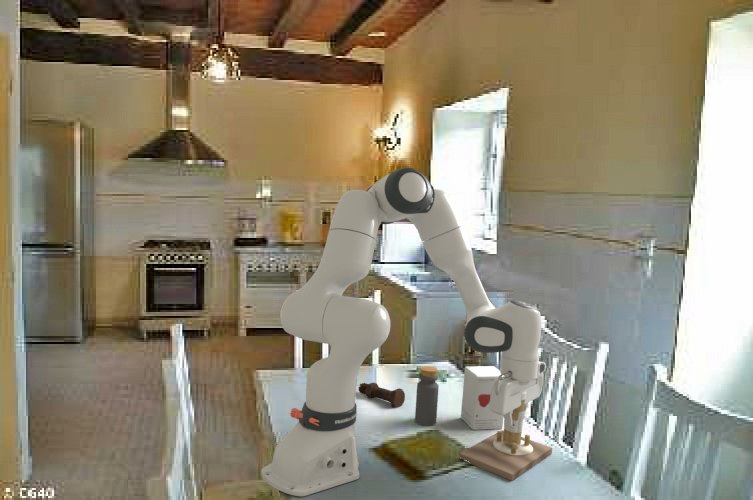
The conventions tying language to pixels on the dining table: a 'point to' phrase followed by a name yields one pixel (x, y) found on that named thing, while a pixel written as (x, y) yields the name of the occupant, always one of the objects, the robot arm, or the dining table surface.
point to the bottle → (427, 396)
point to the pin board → (506, 455)
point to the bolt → (383, 394)
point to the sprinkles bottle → (515, 425)
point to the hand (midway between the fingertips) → (514, 422)
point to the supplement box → (480, 398)
